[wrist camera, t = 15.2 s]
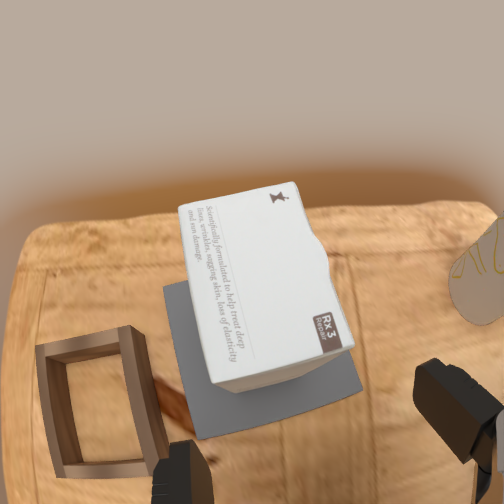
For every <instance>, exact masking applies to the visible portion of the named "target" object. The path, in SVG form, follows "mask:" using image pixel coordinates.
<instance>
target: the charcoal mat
mask: <svg viewBox="0 0 504 504" xmlns="http://www.w3.org/2000/svg"><path fill="white" fill-rule="evenodd" d="M163 292H164V297H165V303H166V308H167V313H168V319H169V324H170V329H171V334H172V339H173V343H174V348H175V353H176V357H177V362H178V366H179V370H180V375H181V379H182V383H183V387H184V391H185V395H186V399H187V403H188V407H189V410H190V414H191V418H192V421H193V425H194V429H195V432H196V436H197V439H198V440H201V439H206V438H211V437H215V436H220V435H225V434H229V433H233V432H237V431H241V430H245V429H249V428H253V427H257V426H261V425H264V424H268V423H271V422H275V421H278V420H282V419H285V418H288V417H291V416H294V415H298V414H301V413H304V412H307V411H310V410H312V409H315V408H318V407H321V406H324V405H327V404H329V403H332V402H335V401H337V400H340V399H343V398H345V397H348V396H350V395H353V394H355V393H358V392H360V391H362V390H363V388H362V385H361V382H360V379H359V377H358V374H357V371H356V368H355V365H354V363H353V360H352V357H351V354H350V352H349V350H348V351H347V352H345V353H343V354H341V355H339V356H338V357H336V358H334V359H332V360H330V361H329V362H327V363H325V364H323V365H321V366H320V367H318V368H316V369H314V370H312V371H310V372H308V373H306V374H304V375H302V376H300V377H297V378H294V379H291V380H287V381H284V382H280V383H277V384H273V385H269V386H265V387H261V388H257V389H253V390H248V391H244V392H240V393H232V392H230V391H228V390H226V389H224V388H222V387H219V386H217V385H215V384H213V383H212V382H211V380H210V377H209V373H208V370H207V366H206V362H205V358H204V354H203V350H202V346H201V341H200V337H199V332H198V327H197V322H196V317H195V313H194V308H193V303H192V298H191V293H190V288H189V282H188V280H186V281H182V282H179V283H175V284H171V285H167V286H164V287H163Z"/></svg>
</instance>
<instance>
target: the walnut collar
mask: <svg viewBox="0 0 504 504" xmlns="http://www.w3.org/2000/svg"><path fill="white" fill-rule="evenodd" d="M35 352H36V366H37V377H38V386H39V394H40V401H41V408H42V414H43V420H44V426H45V431H46V436H47V441H48V446H49V450H50V454H51V459H52V463H53V467H54V470H55V474H56V478H73V479H112V478H133V477H146V476H153V471H154V469H155V467H156V465H157V463H158V461H159V459H164V458H169V443H168V439H167V435H166V432H165V428H164V424H163V420H162V416H161V412H160V408H159V404H158V400H157V395H156V391H155V386H154V382H153V377H152V372H151V368H150V362H149V357H148V352H147V347H146V341H145V335H143V334H142V333H141V332H139V331H138V330H136V329H135V328H134V327H132V326H131V325H127V326H123V327H119V328H114V329H110V330H106V331H101V332H97V333H93V334H88V335H84V336H79V337H74V338H70V339H65V340H60V341H56V342H51V343H46V344H41V345H36V346H35ZM120 353H121V357H122V363H123V369H124V375H125V380H126V385H127V391H128V395H129V400H130V405H131V410H132V414H133V418H134V423H135V427H136V431H137V435H138V439H139V442H140V446H141V450H142V454H143V457H144V459H134V460H122V461H106V462H83V459H82V455H81V451H80V447H79V442H78V438H77V433H76V429H75V424H74V419H73V413H72V408H71V402H70V396H69V389H68V382H67V374H66V366H65V364H67V363H73V362H78V361H84V360H89V359H94V358H100V357H105V356H110V355H115V354H120Z"/></svg>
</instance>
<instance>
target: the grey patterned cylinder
mask: <svg viewBox="0 0 504 504" xmlns="http://www.w3.org/2000/svg"><path fill="white" fill-rule="evenodd" d="M449 291H450V295H451V299H452V301H453V303H454V305H455V307H456V309H457V310H458V312H459V313H460V314H461V315H462V316H463V317H464V318H465V319H466V320H467V321H469V322H471V323H473V324H475V325H487V324H489V323H491V322H493V321H495V320H496V319H498V318H500V317H502V316H503V315H504V211H503V213H502V214H501V215H500V216H499V217H498V218H497V219H496V220H495V221H494V223H493V224H492V225H491V226H490V227H489V228H488V229H487V230H486V231H485V232H484V234H483V235H482V236H481V237H480V238H479V239H478V240H477V241H476V242H475V243H474V244H473V245H472V246H471V247H470V248H469V249H468V250H467V251H466V252H465V253H464V254H463V255H462V256H461V257H460V258H459V259H458V260H457V261H456V262H455V263H454V265H453V266H452V268H451V271H450V274H449Z"/></svg>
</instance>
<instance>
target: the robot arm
mask: <svg viewBox="0 0 504 504" xmlns="http://www.w3.org/2000/svg"><path fill="white" fill-rule="evenodd" d="M413 401H414V404H415V406H416V408H417V409H418V411H419V412H420V413H421V414H422V415H423V417H424V418H425V419H426V420H427V421H428V423H429V424H430V425H431V426H432V427H433V429H434V430H435V431H436V432H437V433H438V434H439V436H440V437H441V438H442V439H443V440H444V442H445V443H446V444H447V445H448V447H449V448H450V449H451V450H452V451H453V453H454V454H455V455H456V456H457V457H458V459H459V460H460V461H461V462H462V464H465V463H466V462H468V461H469V460H470V459H472V458H473V459H474V460H475V461H476V463H475V467H474V480H473V490H472V499H471V504H504V405H502V404H501V403H500V402H499V401H498V400H497V399H496V398H495V397H494V396H492V395H491V394H490V393H489V392H488V391H487V390H486V389H485V388H483V387H482V386H481V385H480V384H478V382H477V381H475V380H474V379H473V378H471V376H470V375H469V374H467V373H466V372H465V371H464V370H463V369H461V368H459V367H456V366H453V365H451V364H449V365H448V366H446V365H444V364H443V363H442V362H441V361H440V360H439V359H437V358H432V359H431V360H429V361H427V362H425V363H423V364H421V365H419V366H417V367H416V370H415V380H414V388H413ZM152 484H153V486H152V498H151V504H214V495H213V485H212V477H211V472H210V469H209V466H208V464H207V462H206V460H205V459H204V457H203V455H202V454H201V452H200V450H199V449H198V447H197V445H196V444H195V442H194V441H193V440H192V439H191V440H185V441H179V442H172V443H170V446H169V458H164V459H159V461H158V463H157V465H156V467H155V469H154V471H153V481H152Z"/></svg>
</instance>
